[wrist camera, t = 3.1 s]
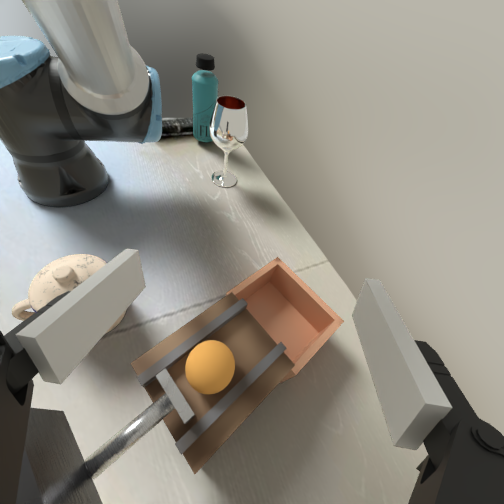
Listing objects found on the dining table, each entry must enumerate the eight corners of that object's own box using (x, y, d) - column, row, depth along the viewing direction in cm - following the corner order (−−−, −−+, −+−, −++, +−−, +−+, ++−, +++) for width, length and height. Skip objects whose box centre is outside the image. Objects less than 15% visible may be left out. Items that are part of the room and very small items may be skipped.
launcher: (196, 462, 28) (194, 477, 20) (146, 377, 33) (127, 360, 24) (276, 377, 35) (299, 362, 27) (226, 316, 40) (232, 286, 31)
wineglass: (246, 180, 62) (260, 106, 47) (225, 194, 57) (233, 117, 43) (223, 165, 64) (229, 89, 49) (200, 177, 59) (200, 98, 45)
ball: (180, 392, 25) (176, 385, 21) (193, 343, 28) (192, 329, 24) (227, 400, 25) (232, 396, 21) (235, 351, 28) (241, 339, 24)
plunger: (106, 549, 18) (37, 640, 10) (56, 425, 21) (-22, 425, 14) (211, 440, 22) (215, 447, 15) (156, 353, 26) (137, 324, 18)
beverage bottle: (197, 148, 66) (195, 60, 50) (190, 135, 69) (186, 49, 53) (219, 146, 69) (224, 62, 53) (211, 134, 72) (214, 51, 56)
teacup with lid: (124, 277, 41) (101, 233, 31) (134, 327, 36) (111, 293, 27) (38, 300, 36) (-19, 257, 27) (37, 360, 32) (-31, 333, 22)
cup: (280, 383, 35) (296, 375, 30) (222, 311, 40) (225, 293, 34) (324, 335, 41) (344, 321, 35) (268, 277, 45) (277, 256, 40)
